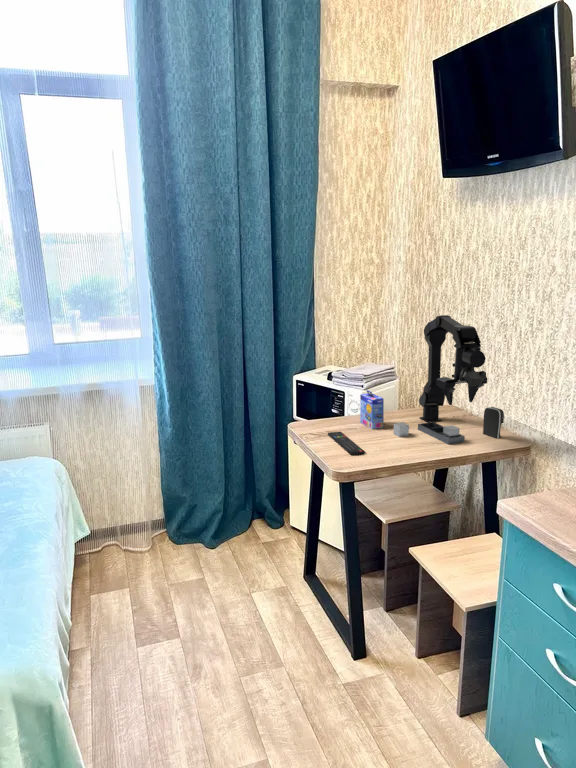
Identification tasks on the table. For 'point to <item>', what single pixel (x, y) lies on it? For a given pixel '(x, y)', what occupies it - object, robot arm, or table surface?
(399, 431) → the grey block
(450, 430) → the light grey block
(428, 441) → the table surface
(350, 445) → the remote control
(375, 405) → the ink cartridge box
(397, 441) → the table surface
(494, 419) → the black zippered case
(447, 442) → the dark grey tray
